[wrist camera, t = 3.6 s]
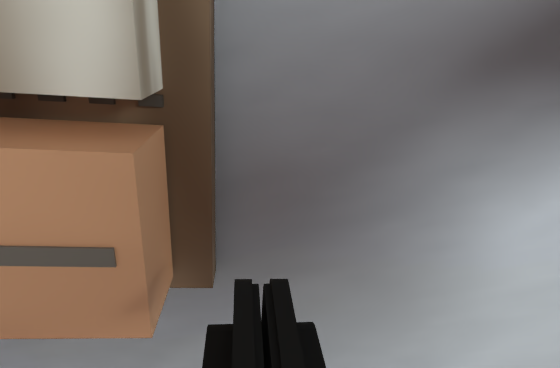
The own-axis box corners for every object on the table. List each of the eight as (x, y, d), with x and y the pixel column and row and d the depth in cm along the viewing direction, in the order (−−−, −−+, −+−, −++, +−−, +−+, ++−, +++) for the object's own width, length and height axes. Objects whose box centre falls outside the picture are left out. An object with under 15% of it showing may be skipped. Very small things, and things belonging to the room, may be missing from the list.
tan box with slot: (163, 125, 15) (132, 154, 11) (173, 276, 18) (151, 340, 14) (-91, 112, 14) (-221, 139, 10) (-34, 274, 17) (-117, 341, 13)
